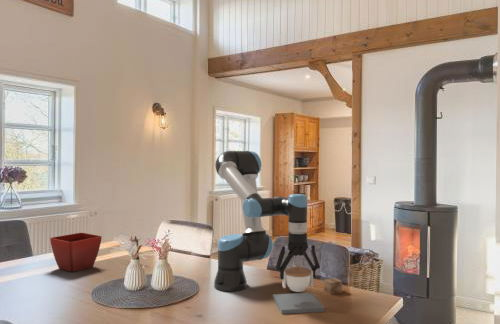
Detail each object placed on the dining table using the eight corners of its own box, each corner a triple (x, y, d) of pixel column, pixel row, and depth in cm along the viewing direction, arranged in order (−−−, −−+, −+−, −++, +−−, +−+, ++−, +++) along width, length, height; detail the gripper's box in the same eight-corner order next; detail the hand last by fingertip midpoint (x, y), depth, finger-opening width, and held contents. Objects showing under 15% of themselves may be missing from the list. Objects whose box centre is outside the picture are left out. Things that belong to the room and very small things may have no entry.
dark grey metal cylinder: (291, 293, 169) (291, 277, 169) (288, 290, 174) (288, 274, 174) (302, 293, 169) (302, 277, 169) (299, 289, 174) (299, 274, 174)
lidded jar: (304, 295, 149) (304, 271, 149) (279, 290, 154) (279, 267, 154) (315, 287, 158) (315, 265, 158) (291, 283, 164) (291, 261, 163)
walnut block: (330, 294, 169) (330, 282, 169) (324, 290, 173) (324, 279, 173) (342, 292, 171) (342, 281, 171) (335, 289, 175) (335, 278, 175)
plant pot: (102, 266, 211) (102, 235, 211) (70, 275, 195) (70, 242, 194) (81, 261, 221) (81, 232, 221) (49, 269, 205) (49, 237, 205)
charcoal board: (281, 313, 147) (281, 309, 147) (272, 297, 164) (272, 294, 164) (324, 311, 149) (324, 307, 149) (311, 296, 166) (311, 292, 166)
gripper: (271, 234, 151) (271, 290, 151) (328, 233, 154) (328, 288, 154) (268, 231, 158) (268, 284, 158) (322, 229, 161) (322, 282, 162)
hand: (297, 286), depth 156 cm, fingers closed on lidded jar, 11 cm apart
